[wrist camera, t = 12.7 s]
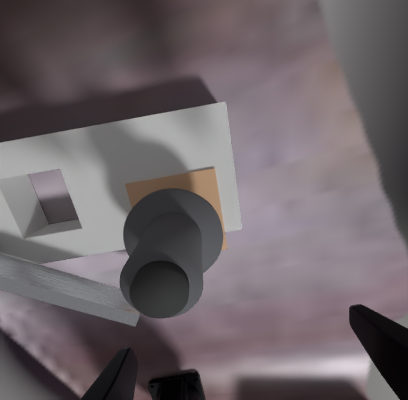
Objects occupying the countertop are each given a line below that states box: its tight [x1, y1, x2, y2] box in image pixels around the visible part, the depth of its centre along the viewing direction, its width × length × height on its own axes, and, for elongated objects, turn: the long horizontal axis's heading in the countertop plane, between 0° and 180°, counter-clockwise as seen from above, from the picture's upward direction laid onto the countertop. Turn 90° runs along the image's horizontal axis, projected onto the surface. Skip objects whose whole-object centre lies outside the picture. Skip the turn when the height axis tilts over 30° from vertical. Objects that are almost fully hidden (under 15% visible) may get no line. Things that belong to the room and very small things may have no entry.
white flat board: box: [0, 102, 242, 264], centre depth 18 cm, size 12×26×3 cm, turn 100°
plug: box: [120, 188, 223, 318], centre depth 12 cm, size 6×6×9 cm
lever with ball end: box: [0, 253, 140, 327], centre depth 16 cm, size 2×14×3 cm, turn 68°
